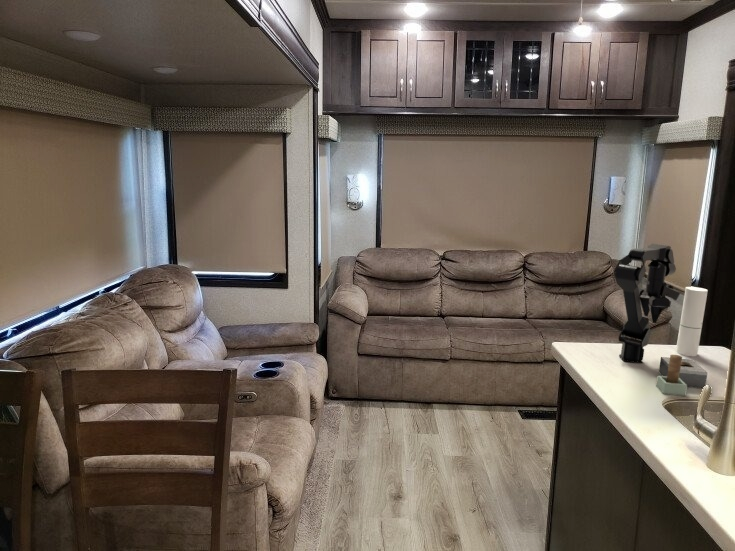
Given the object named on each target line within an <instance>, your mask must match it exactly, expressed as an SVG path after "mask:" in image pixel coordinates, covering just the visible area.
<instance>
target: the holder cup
mask: <svg viewBox="0 0 735 551" xmlns="http://www.w3.org/2000/svg"><path fill="white" fill-rule="evenodd" d="M656 377H657V379H656V388H657V389H658V390H659V391H660V392H661V393H662V395H671V396H681V397H682V396H683V397H686V396H687V395H686V394H687V388H688V387H687V385H686V384H685V383H684V382H683V381H682V380H681V379H680V378H679V380H678V384H677V383H667V382H666V380H667V377H666V376H662V375H657V376H656Z"/></svg>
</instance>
